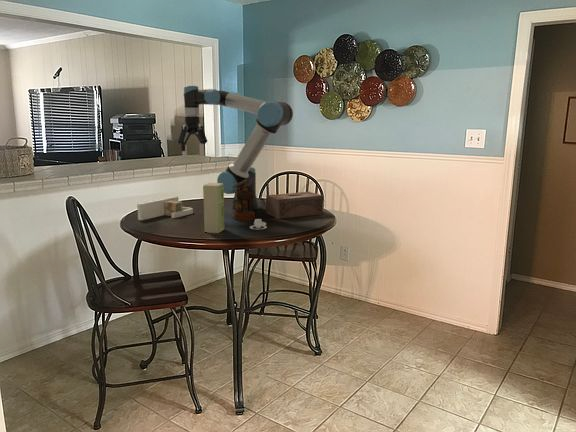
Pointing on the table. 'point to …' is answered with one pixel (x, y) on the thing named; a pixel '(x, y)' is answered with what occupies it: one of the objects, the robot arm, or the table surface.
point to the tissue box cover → (294, 204)
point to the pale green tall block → (213, 207)
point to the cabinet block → (172, 207)
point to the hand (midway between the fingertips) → (193, 156)
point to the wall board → (159, 209)
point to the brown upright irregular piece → (243, 195)
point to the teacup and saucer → (259, 224)
